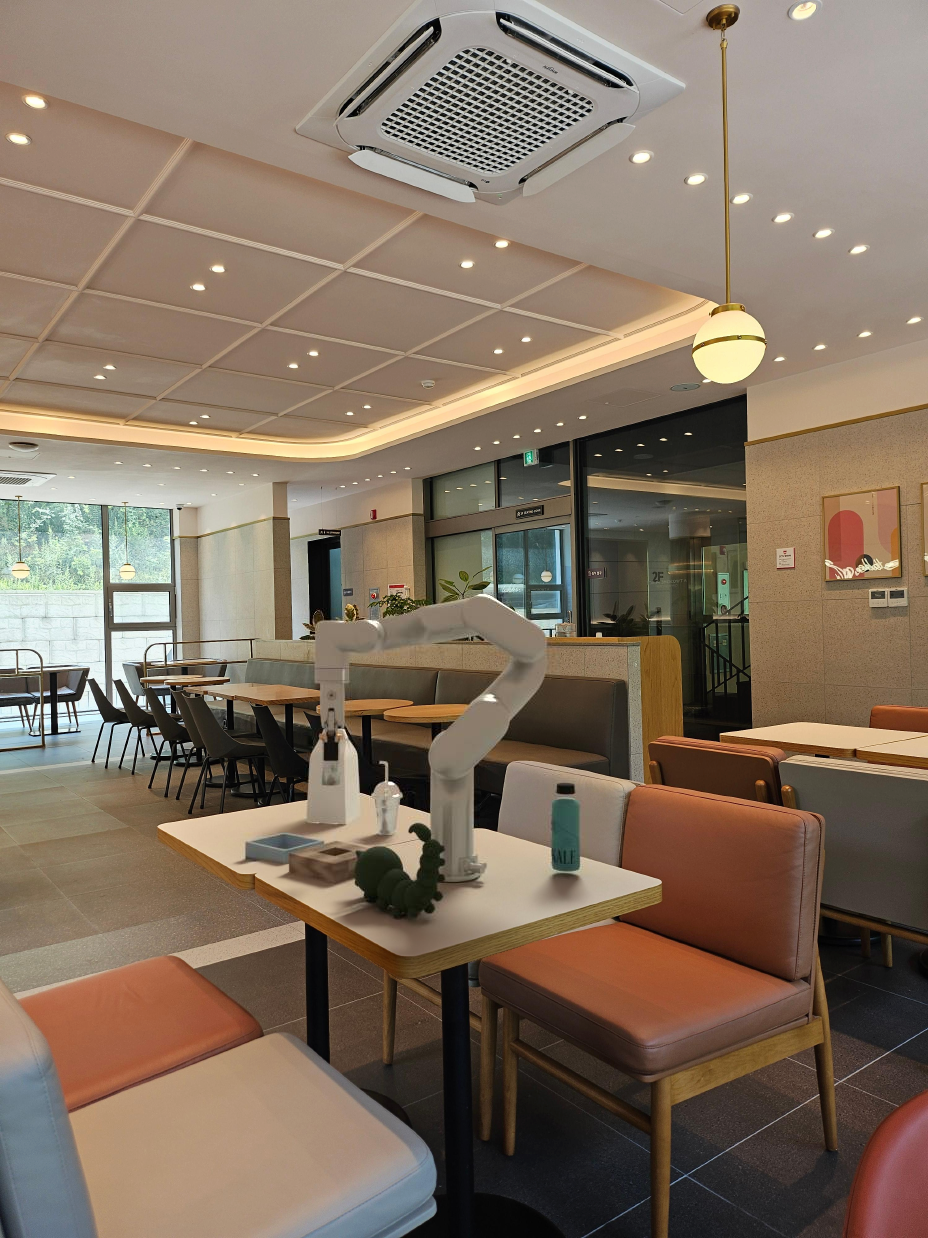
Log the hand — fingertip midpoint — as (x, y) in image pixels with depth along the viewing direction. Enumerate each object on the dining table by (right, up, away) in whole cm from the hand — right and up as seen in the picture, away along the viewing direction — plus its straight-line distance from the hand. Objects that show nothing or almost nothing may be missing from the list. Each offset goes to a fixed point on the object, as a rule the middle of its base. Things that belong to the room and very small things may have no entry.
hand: (331, 758), depth 182 cm
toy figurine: (+16, -25, -25) cm, 39 cm away
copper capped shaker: (0, -6, 0) cm, 6 cm away
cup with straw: (+9, -27, +38) cm, 47 cm away
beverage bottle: (+52, -26, -1) cm, 58 cm away
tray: (-13, -26, +13) cm, 32 cm away
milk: (-8, -27, +56) cm, 62 cm away
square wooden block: (+1, -25, -2) cm, 26 cm away
